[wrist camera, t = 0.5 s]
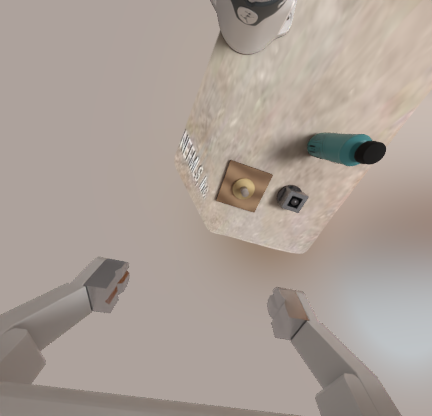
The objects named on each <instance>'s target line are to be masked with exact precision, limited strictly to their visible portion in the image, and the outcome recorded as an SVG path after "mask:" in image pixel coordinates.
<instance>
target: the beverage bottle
mask: <svg viewBox="0 0 432 416" xmlns="http://www.w3.org/2000/svg"><path fill="white" fill-rule="evenodd" d="M307 150H308V153H310V155H311V156H313V157H314V156H315V157H317V158H320V159H325V160H329V161H331V162H333V163H334V162H336V163H338V164H339V163H340V164H344V165H346V166H355V165H358V164H360V163H361V164H374V163H376V162H378V161H379V160H381V159H382V158H383V156H384V155H385V152H386V147H385V145H384V144H383V143H381V142H376V141H372V139H371V138H370V137H369V136H367V135H365V134H336V133H327V132H324V133H319V134H317V135H315V136H313V137H312V138H311V139H310V141H309V143H308V146H307Z"/></svg>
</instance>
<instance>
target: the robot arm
mask: <svg viewBox="0 0 432 416" xmlns="http://www.w3.org/2000/svg"><path fill="white" fill-rule="evenodd" d="M210 1H211V3H212V5H213V7H214V8H215V10H216V13H217V16H218V21H219V26H220V30H221V33H222V35H223V37H224V39H225V41H226V42H227V44H228V45H229V46H230V47H231V48H232V49H234V50H235V51H237V52H239V53H242V54H253V53H256V52H259V51H261V50H262V49H264V48H265V47H266V46H267V45H268V44H269V43H271V42H272V41H273V40H274V39H275V38H278V37H281V36H283V35H285V34H286V33H287V32H288V31H289V29H290V27H291V24H292V19H293V15H294V11H295V7H296V3H297V0H210ZM287 18H288V20H287ZM128 268H129V263H128V262H124V261H119V260H113V259H108V258H103V257H97V258H95V259H94V260H93V261H92V262H91V263H90V264H89V265H88V266H87V267H86V268H85V269H84V270H83V271H82V272H81V273H80V274H79V275H78V276H77V277H76V278H75V279H74V280H73V281H72V282H71V283H70V284H69V283H66V284H64V285H62V286H60V287H58V288H55V289H53V290H51V291H49V292H47V293H45V294H43V295H41V296H39V297H37V298H35V299H33V300H30V301H28V302H26V303H24V304H22V305H20V306H18V307H16V308H14V309H12V310H10V311H7V312H6V313H3V314H1V315H0V416H299V415H290V414H282V413H273V412H264V411H256V410H248V409H239V408H230V407H222V406H213V405H205V404H196V403H187V402H178V401H169V400H162V399H153V398H145V397H135V396H127V395H119V394H110V393H101V392H93V391H84V390H75V389H66V388H58V387H50V386H42V385H32V382H33V381H34V379H35V378H36V377H37V375H38V374H39V372H40V371H41V370H42V369H43V367H44V366H45V362H46V360H45V358H44V357H43V355H42V354H41V352H40V351H41V350H42V349H44V348H45V347H46V346H48V345H49V344H50V343H52V342H53V341H54V340H55V339H57V338H58V337H60V336H61V335H62V334H64V333H65V332H66V331H68V330H69V329H70V328H71V327H73V326H74V325H75V324H77V323H78V322H79V321H81V320H82V319H83V318H85V317H86V316H87V315H89V314H90V313H91V312H92V311H96V312H104V313H111V311H112V310H113V308H114V306H115V304H116V303H117V301H118V295H119V294H120V293H122V292H123V291H124V290H125V288H126V286H127V284H128V281H129V272H128V271H127V269H128ZM267 307H268V312H269V315H270V316H271V317H272V319H273V320H272V323H271V324H272V328H273V332H274V335H275V337H276V338H280V339H286V340H291V342H292V344H293V346H294V347H295V348H296V350H297V351H298V353H299V354H300V356H301V357H302V359H303V360H304V362H305V363H306V364H307V366H308V367H309V369H310V370H311V372H312V373H313V374H314V376H315V378H316V379H317V381H318V382H319V383H320V385H321V386H322V388H323V390H322V391H320V392H319V393H317V394H316V397H315V399H316V402H317V405H318V408H319V411H320V414H321V416H402V415H401V414H400V412H399V411H398V409H397V408H396V406H395V404H394V403H393V401H392V400H391V398H390V396H389V395H388V393H387V392H386V390H385V388H384V387H383V385H382V384H381V382H380V381H379V379H378V377H377V376H376V375H375V374H374V373H373V372H372V371H371V370H370V369H369V368H368V367H367V366H366V365H364V363H363V362H362V361H361V360H359V358H358V357H356V356H355V355H354V354H353V353H352V352H351V351H350V350H349V349H348V348H347V347H346V346H345V345H344V344H343V343H342V342H341V341H340V340H339V339H338V338H337V337H336V336H335V335H334V334H333V333H332V332H331V331H330V330H329V329H328V328H327V327H326V326H325V325H324V324H323V323H320V322H319V320H318V318H317V317H316V314H315V313H314V311H313V309H312V307H311V305H310V303H309V301H308V299H307V297H306V295H305V294H304V292H303V291H297V290H292V289H286V288H280V287H276V288H274V289H273V295H271V296H270V297H269V299H268V304H267Z"/></svg>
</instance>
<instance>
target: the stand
mask: <svg viewBox="0 0 432 416" xmlns="http://www.w3.org/2000/svg"><path fill="white" fill-rule="evenodd" d="M286 187H289V188H292V189H295V190H298V191H301V190H300V188H298V187H297V186H294V185H289V186H285V187H284V188H282V189H281V190H280V191H279V193H278V195H277V201H279V199H280V197H281V195H282V194H283V192H284V190H285V188H286ZM301 192H302V191H301ZM289 203H291V204H292V205H297V204H298V200H297V199H296V196H292V198H291V199H290V201H289Z"/></svg>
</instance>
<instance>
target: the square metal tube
mask: <svg viewBox="0 0 432 416" xmlns="http://www.w3.org/2000/svg"><path fill="white" fill-rule="evenodd" d="M292 196H296V199H297V200H298V204H297V205H292V204H291V203H289V201H290V199H291V198H292ZM307 199H308V196H307V195H306V194H305V193H303V192H301V191H298V190H295V189H292V188H289V187H286V188H285V190H284V192H283V194H282V195H281V197H280V199H279V201H278V204H279V205H280V206H281V208H284V209H287V210H290V211H293V212H296V213H299V211H300V210H301V208H302V207H303V205H304V203H305V202H306V200H307Z"/></svg>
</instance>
